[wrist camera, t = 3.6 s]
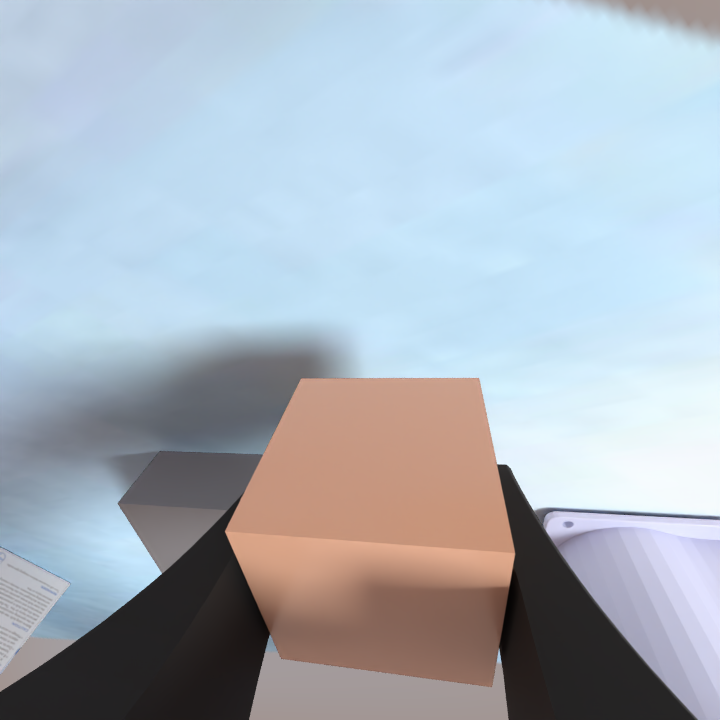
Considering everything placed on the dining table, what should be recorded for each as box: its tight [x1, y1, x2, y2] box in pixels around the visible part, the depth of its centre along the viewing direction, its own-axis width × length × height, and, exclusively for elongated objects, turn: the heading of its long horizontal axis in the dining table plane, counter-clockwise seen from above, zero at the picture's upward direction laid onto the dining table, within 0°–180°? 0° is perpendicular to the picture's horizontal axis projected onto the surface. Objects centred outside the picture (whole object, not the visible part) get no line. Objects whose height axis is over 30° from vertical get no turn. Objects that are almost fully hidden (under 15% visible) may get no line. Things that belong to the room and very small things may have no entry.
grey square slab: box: [118, 451, 271, 635], centre depth 23 cm, size 12×12×4 cm
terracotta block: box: [225, 378, 515, 687], centre depth 10 cm, size 5×5×5 cm
